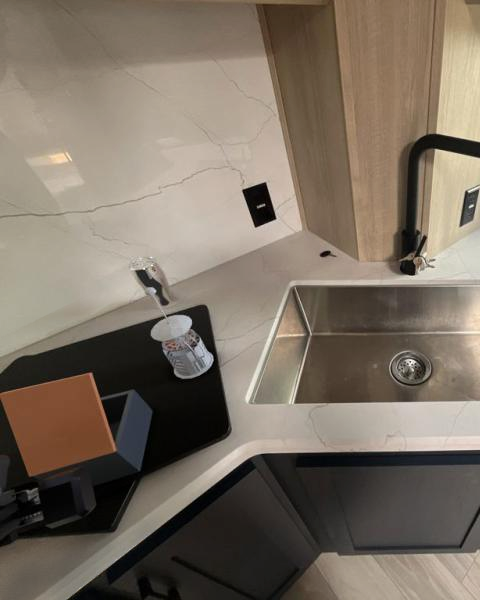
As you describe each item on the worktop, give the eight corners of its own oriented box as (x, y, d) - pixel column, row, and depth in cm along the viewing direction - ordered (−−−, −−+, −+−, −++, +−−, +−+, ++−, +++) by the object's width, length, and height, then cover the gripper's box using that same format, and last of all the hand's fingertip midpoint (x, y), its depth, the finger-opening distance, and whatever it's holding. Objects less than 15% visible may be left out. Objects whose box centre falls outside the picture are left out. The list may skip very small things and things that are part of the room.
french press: (199, 345, 86) (157, 268, 70) (229, 362, 83) (192, 286, 66) (163, 370, 80) (108, 293, 64) (194, 391, 76) (143, 314, 60)
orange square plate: (3, 392, 51) (-2, 394, 50) (91, 372, 54) (89, 373, 54) (32, 474, 53) (29, 477, 52) (116, 449, 56) (114, 452, 56)
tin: (90, 429, 68) (63, 406, 62) (153, 412, 72) (133, 389, 66) (67, 495, 59) (32, 476, 53) (141, 472, 62) (117, 452, 56)
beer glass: (176, 293, 102) (154, 253, 92) (181, 305, 98) (159, 264, 88) (150, 302, 98) (125, 261, 89) (155, 314, 95) (129, 273, 85)
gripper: (32, 449, 36) (111, 415, 51) (-214, 517, 31) (-45, 456, 46) (51, 547, 36) (125, 484, 51) (-194, 633, 31) (-31, 534, 45)
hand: (48, 487), depth 48 cm, fingers closed
